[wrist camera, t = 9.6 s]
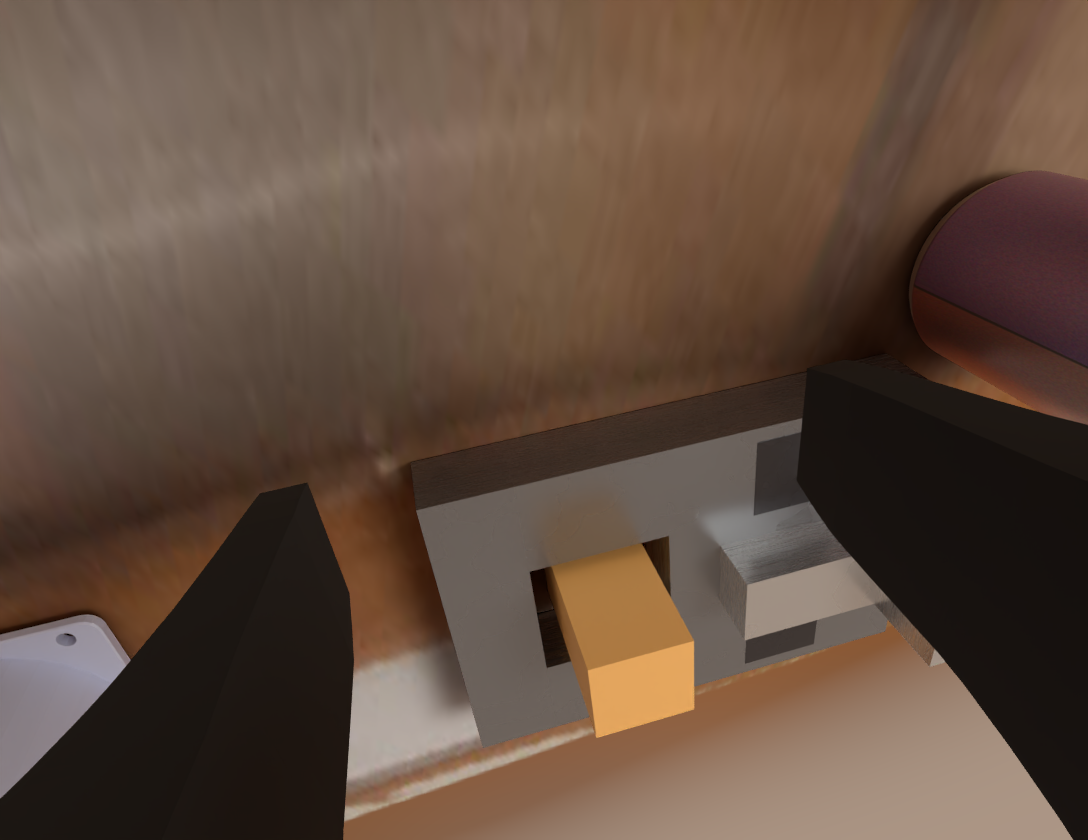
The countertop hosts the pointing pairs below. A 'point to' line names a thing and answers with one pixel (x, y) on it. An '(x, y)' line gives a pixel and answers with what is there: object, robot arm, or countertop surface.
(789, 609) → the bracket
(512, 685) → the rosette plate
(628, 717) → the orange rectangular block
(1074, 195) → the beverage can
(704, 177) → the countertop surface
